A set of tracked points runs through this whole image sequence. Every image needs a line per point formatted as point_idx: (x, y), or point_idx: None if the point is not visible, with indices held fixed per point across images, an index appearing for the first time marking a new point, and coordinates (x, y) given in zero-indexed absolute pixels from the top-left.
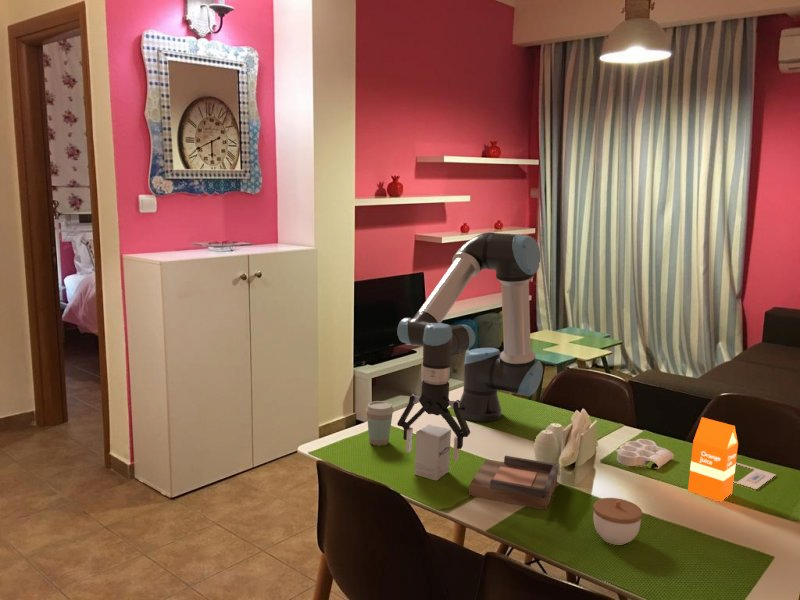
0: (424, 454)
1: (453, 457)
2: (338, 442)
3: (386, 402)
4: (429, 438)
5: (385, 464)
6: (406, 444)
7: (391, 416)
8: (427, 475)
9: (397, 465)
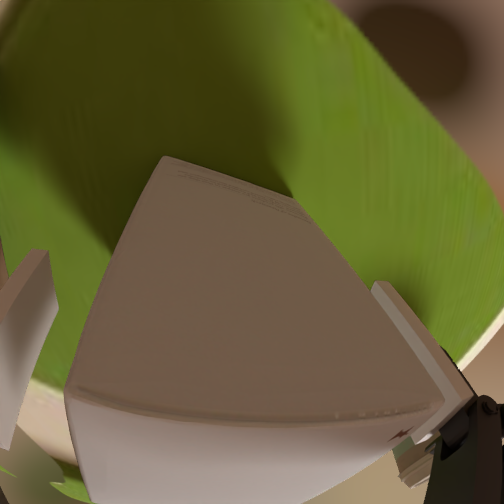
0: (276, 239)
1: (37, 265)
2: (475, 340)
3: (418, 484)
4: (272, 367)
5: (408, 265)
6: (415, 314)
7: (404, 457)
8: (222, 174)
9: (368, 271)
